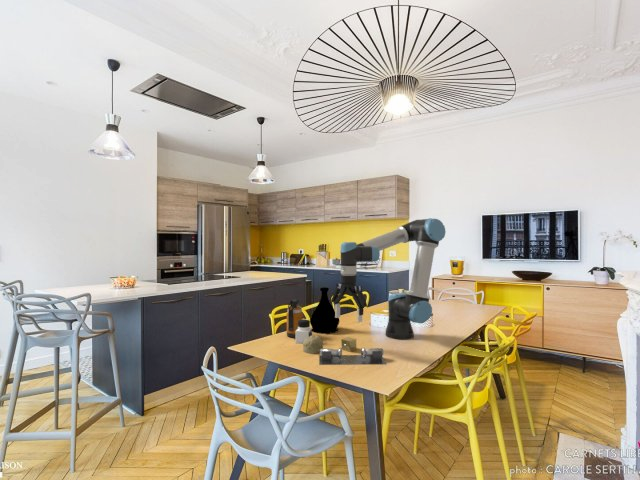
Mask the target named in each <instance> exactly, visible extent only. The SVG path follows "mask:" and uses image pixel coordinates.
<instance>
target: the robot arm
mask: <svg viewBox="0 0 640 480" xmlns="http://www.w3.org/2000/svg"><path fill="white" fill-rule="evenodd" d="M445 236H446V227H445V225H444V223H443V222H442V221H441V219H438V218H433V217H432V218H431V217H430V218H423V219H415V220H414V219H413V220H412V221H410V222H407V223H405V224H403V225H400V226H398V227H396V229H395V230H392V231H389V232H386V233H384V234H381V235H378V236H376V237H373V238H371V239H368V240H366V241H362V242H360V243H357V242H355V241H354V242H353V241H352V242H351V241H349V242H347V241H345V242H344V241H343V242H342V243H341V244H340V251H339V252H340V283H336V284H335V290H334V292H333V294H332V297H331V300H330V301H331V302H330V303H333V304H334V306H333V307H334V308H333V309H334V310H335V318H338V317H339V318H341V303H340V302H341V300H342V299H343V298H344V296H345V295H349V296H350V297H352V299H353V300H354V302H355V303H356V305H357V308H356V310H357V311H356V313H357V314H356V315H357V316H356V317H357V318H356V321H357V323H362V322H363V316H364V308H366V307H368V303H367V301H366V298H365V296H364V293H363V289H362V286H361V285H357V263H366V262H367V263H368V262H369V263H370V262H371V263H373V262H374V263H375V262H377V261H379V259H380V256H381V255H380V253H381V252H380V251H383V250H385V249H388V248H391V247H394V246H397V245H399V244H402V243H403V244H406V243H409V242H415V245H417V248H416V255H415V260H414V267H413V271H412V278H411V284H410V287H409V291H407V292H406V293H393V294H392V293H391V294H389V295H388V300H387V302H388V322H387V325H386V328H385V336H386V337H387V338H390V339H395V340H410V339H413V338H414V335H415V333H414V329H413V327H412V323H415V324H424V323H426V322H427V321H428V320H429V319H430V318H431V317H432V314H433V307H432V304H431V303H430V297H429V295H428V290H429V285H430V278H431V272H432V268H433V267H432V266H433V262H434V255H435V250H436V249H437V248H438V247H439V244H440V242H441V241H442V240H443V239H444V238H445ZM411 322H412V323H411Z"/></svg>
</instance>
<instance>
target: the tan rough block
mask: <svg viewBox="0 0 640 480" xmlns="http://www.w3.org/2000/svg"><path fill="white" fill-rule="evenodd" d="M340 343H341V348H342V351H345V352H349V353H351V352H354V351H356V350H357V338H354V337H349V336H348V337H345V338H342V339H341V342H340Z"/></svg>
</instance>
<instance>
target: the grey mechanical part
mask: <svg viewBox="0 0 640 480" xmlns="http://www.w3.org/2000/svg"><path fill="white" fill-rule="evenodd" d="M360 355H361V356H362V358H363V359H364V358H365V357H368V356H370V359H371V360H372V361H382V357H383V356H384V349H383V348H379V347H378V348H367V349H366V348H365V347H361V348H360Z"/></svg>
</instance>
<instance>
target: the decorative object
mask: <svg viewBox="0 0 640 480" xmlns="http://www.w3.org/2000/svg"><path fill="white" fill-rule="evenodd" d="M323 343H324V341H323V340H322V339H321V337H320V336H319V335H314V334H312V336H310V337H308V338H306V340H305V341H304V343H303V344H302V352H304V353H306V354H309V355H310V354H320V349H324V344H323Z"/></svg>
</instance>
